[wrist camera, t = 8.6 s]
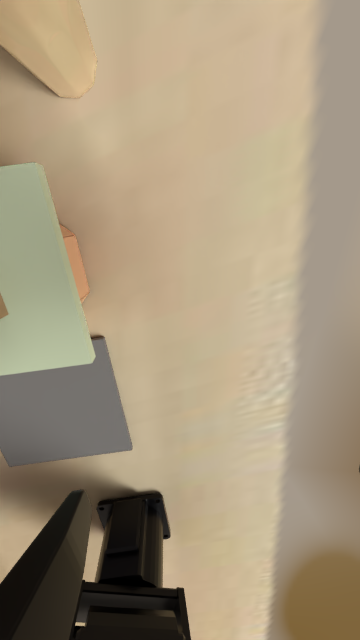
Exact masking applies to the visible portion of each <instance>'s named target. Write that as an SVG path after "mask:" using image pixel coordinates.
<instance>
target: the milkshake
mask: <svg viewBox="0 0 360 640" xmlns="http://www.w3.org/2000/svg"><path fill="white" fill-rule="evenodd" d="M0 45H1V46H2V47H3V48H4V49H5V50H6V51H7V52H9V53H10V54H11V55H12V56H13V57H14V58H15V59H16V60H18V61H19V62H20V63H21V64H22V65H23V66H24V67H25V68H26V69H28V70H29V71H30V72H31V73H32V74H33V75H34V76H35V77H37V78H38V79H39V80H40V81H41V82H42V83H43V84H45V85H46V86H47V87H48V88H50V89H51V90H52V91H53V92H55V93H56V94H57V95H58V96H60V97H63V98H80V97H81V96H82V95H83V94H84V93H85V92H86V91H87V90H88V89H89V88H90V87H91V86H93V85H94V79H95V73H96V67H97V58H96V54H95V51H94V48H93V45H92V41H91V38H90V35H89V32H88V28H87V25H86V22H85V19H84V15H83V12H82V9H81V5H80V2H79V0H0Z"/></svg>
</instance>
